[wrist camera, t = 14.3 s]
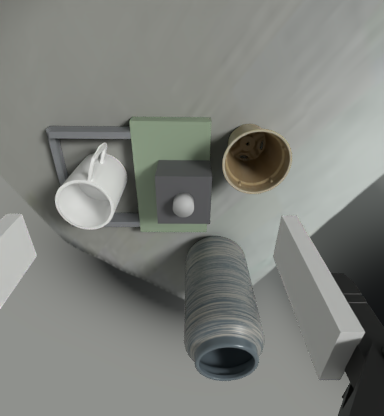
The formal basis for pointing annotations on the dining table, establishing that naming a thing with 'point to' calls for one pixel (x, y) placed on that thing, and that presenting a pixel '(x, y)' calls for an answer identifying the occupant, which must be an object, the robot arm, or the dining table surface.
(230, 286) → the vase
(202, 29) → the dining table surface
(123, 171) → the cup
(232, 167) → the flower pot
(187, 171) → the square frame with panel
